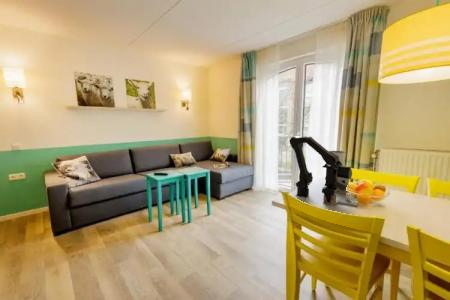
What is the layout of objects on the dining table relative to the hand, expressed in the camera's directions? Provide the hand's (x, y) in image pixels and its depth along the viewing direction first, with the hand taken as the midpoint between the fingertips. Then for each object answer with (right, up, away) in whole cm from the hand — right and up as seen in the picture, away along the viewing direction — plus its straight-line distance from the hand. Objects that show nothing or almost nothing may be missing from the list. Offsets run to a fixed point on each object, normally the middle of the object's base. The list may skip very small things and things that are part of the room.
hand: (329, 200), depth 128 cm
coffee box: (+16, +2, +18) cm, 24 cm away
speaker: (+19, +4, +31) cm, 37 cm away
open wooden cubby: (0, -1, 0) cm, 1 cm away
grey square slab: (+11, -1, 0) cm, 11 cm away
